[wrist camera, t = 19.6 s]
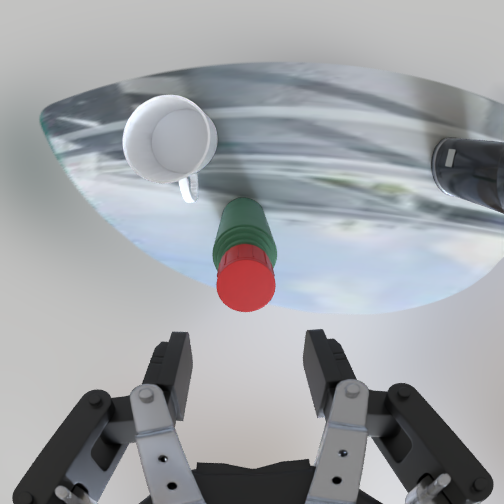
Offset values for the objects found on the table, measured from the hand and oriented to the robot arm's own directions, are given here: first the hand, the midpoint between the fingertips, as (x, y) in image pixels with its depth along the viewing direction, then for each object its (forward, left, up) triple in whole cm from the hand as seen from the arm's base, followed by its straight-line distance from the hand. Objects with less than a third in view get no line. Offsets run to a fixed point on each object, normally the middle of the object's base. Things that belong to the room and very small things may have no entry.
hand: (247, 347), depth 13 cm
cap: (0, 0, -10) cm, 10 cm away
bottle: (0, 0, -27) cm, 27 cm away
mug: (+7, -9, -27) cm, 30 cm away
